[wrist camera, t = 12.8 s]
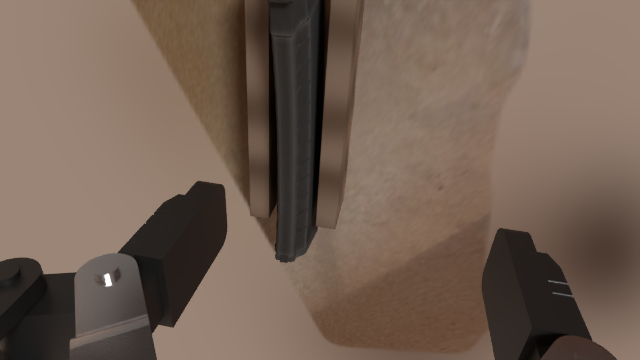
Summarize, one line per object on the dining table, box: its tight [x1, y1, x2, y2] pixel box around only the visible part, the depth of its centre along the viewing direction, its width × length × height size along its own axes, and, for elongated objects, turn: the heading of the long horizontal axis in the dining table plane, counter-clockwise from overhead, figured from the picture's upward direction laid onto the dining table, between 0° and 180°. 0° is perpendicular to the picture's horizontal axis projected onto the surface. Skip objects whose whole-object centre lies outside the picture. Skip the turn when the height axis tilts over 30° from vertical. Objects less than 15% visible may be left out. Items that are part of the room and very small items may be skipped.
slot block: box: [244, 0, 365, 229], centre depth 42 cm, size 24×9×7 cm, turn 177°
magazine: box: [267, 0, 325, 263], centre depth 40 cm, size 17×3×30 cm
